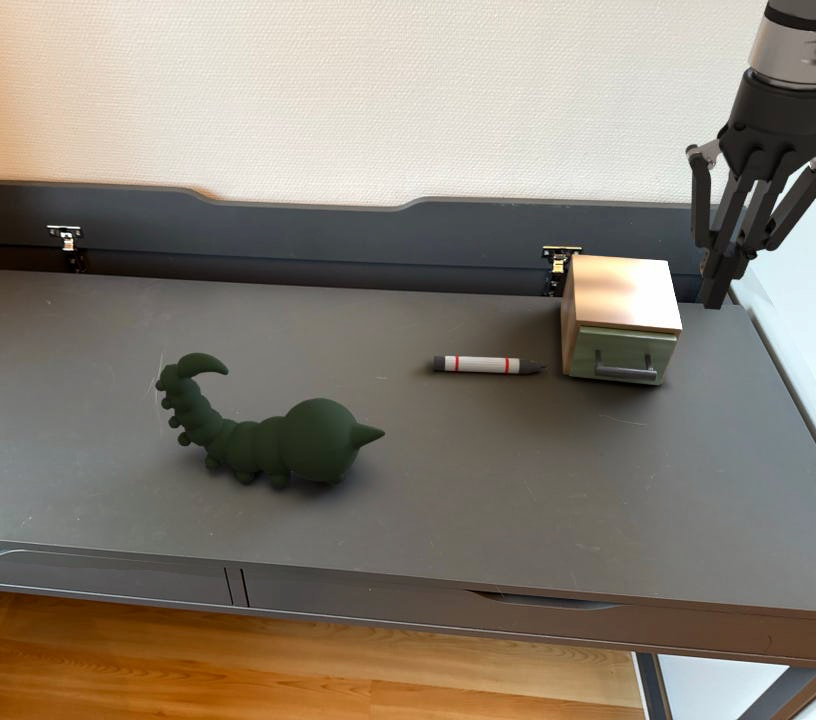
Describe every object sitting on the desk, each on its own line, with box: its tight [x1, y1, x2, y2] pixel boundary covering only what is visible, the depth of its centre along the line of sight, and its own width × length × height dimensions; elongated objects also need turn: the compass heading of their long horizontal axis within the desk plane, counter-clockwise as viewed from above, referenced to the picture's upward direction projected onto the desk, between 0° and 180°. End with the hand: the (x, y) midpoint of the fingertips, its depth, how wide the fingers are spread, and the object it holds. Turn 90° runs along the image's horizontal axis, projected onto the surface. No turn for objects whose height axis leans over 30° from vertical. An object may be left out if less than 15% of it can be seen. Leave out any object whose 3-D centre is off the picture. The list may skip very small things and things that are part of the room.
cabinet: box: [560, 253, 683, 385], centre depth 96 cm, size 15×13×10 cm
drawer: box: [568, 325, 676, 386], centre depth 93 cm, size 18×11×8 cm, turn 168°
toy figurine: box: [154, 352, 386, 488], centre depth 80 cm, size 9×19×25 cm
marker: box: [433, 355, 549, 374], centre depth 96 cm, size 15×2×2 cm, turn 84°
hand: (709, 301), depth 73 cm, fingers closed
